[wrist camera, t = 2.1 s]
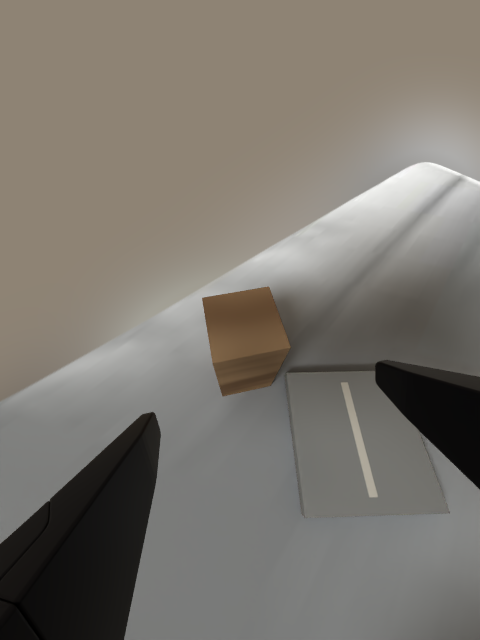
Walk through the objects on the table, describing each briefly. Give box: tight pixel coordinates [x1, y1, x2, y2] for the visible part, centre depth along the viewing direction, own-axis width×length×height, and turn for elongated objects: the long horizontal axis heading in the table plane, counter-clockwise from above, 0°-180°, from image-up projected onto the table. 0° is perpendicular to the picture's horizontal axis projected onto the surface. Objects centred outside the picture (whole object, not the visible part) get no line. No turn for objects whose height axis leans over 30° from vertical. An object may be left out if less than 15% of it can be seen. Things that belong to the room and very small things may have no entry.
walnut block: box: [202, 287, 291, 396], centre depth 17 cm, size 4×4×9 cm
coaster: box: [284, 371, 450, 518], centre depth 18 cm, size 10×10×1 cm
